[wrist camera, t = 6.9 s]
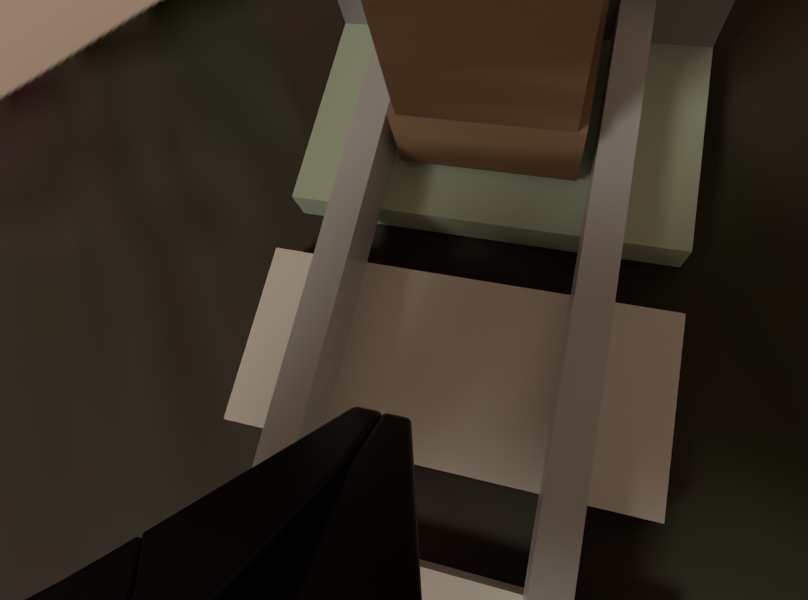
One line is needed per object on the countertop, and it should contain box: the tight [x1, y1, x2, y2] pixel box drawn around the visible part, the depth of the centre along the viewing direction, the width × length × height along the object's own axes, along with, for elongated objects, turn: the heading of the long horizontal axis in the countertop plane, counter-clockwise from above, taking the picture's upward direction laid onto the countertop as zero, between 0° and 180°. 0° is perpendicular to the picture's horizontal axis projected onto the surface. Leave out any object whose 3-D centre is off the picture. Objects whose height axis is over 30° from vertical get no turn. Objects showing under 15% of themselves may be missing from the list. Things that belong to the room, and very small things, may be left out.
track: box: [224, 0, 735, 600], centre depth 13 cm, size 20×10×4 cm, turn 167°
